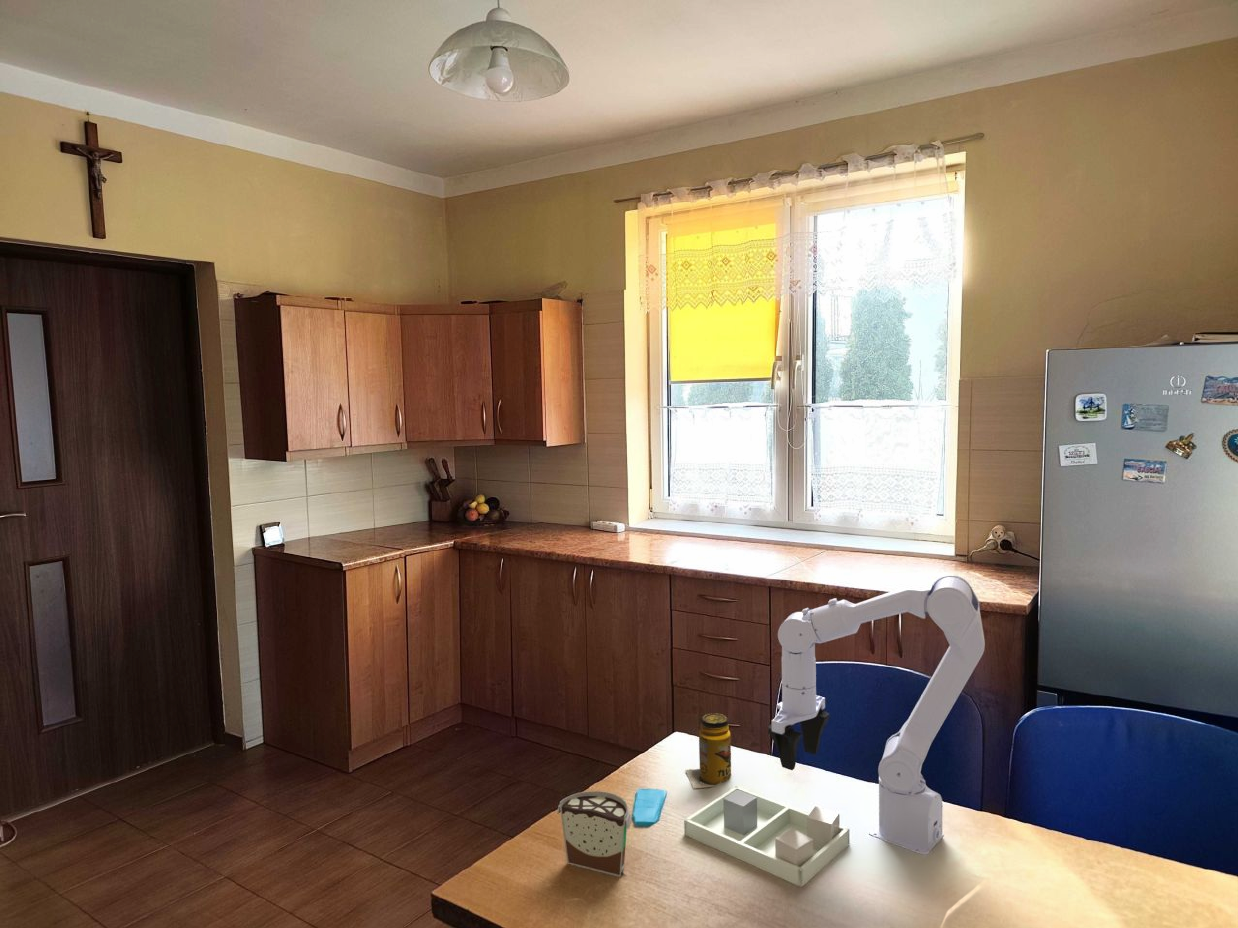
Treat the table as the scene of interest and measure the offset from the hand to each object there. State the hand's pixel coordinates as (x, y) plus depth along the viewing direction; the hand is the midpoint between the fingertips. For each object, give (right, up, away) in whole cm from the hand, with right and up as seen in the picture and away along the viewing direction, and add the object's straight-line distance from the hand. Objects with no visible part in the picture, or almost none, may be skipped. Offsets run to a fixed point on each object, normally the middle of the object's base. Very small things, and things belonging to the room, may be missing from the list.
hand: (799, 759), depth 137 cm
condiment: (-14, -9, +15) cm, 22 cm away
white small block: (+2, -10, -9) cm, 14 cm away
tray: (-7, -11, -7) cm, 15 cm away
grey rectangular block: (-11, -10, -3) cm, 15 cm away
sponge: (-26, -11, +5) cm, 29 cm away
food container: (-34, -12, -11) cm, 38 cm away
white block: (-4, -11, -16) cm, 20 cm away
